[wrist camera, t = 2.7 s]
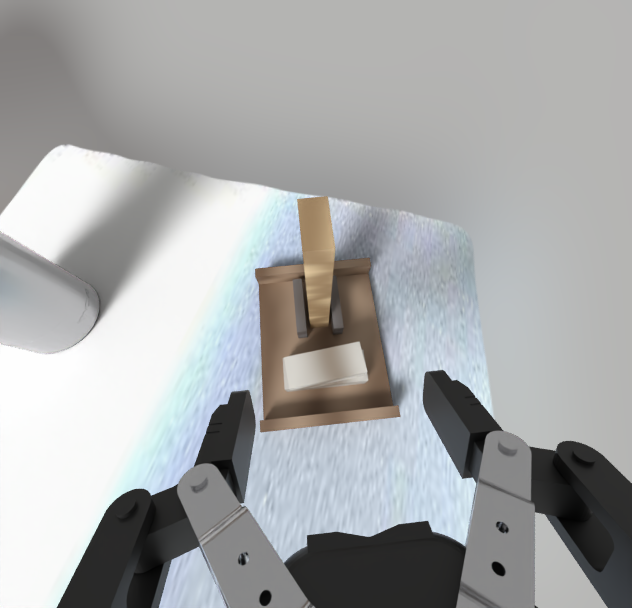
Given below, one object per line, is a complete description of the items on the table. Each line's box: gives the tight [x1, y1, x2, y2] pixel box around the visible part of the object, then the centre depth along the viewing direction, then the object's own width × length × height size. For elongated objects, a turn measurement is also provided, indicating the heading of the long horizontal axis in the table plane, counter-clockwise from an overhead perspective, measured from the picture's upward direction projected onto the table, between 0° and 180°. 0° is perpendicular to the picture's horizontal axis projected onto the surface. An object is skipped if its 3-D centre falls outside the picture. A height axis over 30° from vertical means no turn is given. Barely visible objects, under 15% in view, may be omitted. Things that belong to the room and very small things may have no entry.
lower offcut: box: [283, 350, 368, 392], centre depth 30 cm, size 8×3×2 cm, turn 96°
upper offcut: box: [284, 342, 367, 391], centre depth 28 cm, size 7×3×2 cm, turn 102°
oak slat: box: [297, 196, 335, 328], centre depth 26 cm, size 2×4×16 cm, turn 6°
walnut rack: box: [255, 258, 400, 432], centre depth 32 cm, size 13×17×3 cm
